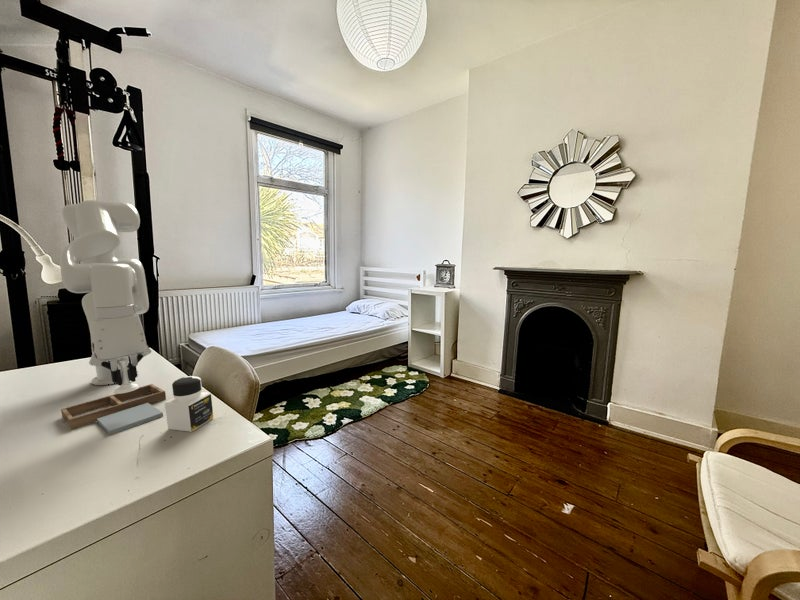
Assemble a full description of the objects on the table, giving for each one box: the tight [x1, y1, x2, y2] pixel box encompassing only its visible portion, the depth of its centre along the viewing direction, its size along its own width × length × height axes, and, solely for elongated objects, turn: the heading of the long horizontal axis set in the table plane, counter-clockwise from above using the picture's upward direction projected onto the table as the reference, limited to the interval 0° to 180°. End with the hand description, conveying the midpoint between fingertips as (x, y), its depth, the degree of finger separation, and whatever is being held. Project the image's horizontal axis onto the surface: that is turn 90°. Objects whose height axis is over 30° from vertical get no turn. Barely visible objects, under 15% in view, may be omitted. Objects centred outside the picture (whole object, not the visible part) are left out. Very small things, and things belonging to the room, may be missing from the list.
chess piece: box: [113, 357, 140, 394], centre depth 84 cm, size 5×5×10 cm
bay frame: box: [60, 383, 167, 430], centre depth 92 cm, size 11×20×2 cm, turn 145°
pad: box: [96, 403, 164, 436], centre depth 85 cm, size 11×11×1 cm
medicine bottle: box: [164, 375, 214, 433], centre depth 82 cm, size 7×7×12 cm
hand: (125, 381), depth 84 cm, fingers closed on chess piece
